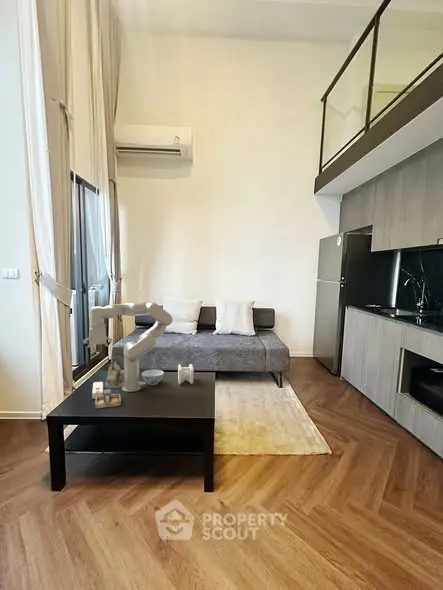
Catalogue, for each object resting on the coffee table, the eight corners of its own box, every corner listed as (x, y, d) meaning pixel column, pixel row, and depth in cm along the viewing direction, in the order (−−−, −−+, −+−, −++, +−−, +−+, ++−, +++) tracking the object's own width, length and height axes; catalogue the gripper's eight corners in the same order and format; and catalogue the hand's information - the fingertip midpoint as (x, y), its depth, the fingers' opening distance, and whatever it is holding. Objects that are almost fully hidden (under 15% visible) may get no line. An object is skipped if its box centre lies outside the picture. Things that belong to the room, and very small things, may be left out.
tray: (119, 397, 195) (119, 393, 195) (120, 405, 184) (120, 401, 184) (95, 400, 191) (95, 396, 190) (95, 408, 179) (95, 404, 179)
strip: (102, 386, 213) (102, 381, 213) (102, 397, 195) (102, 391, 194) (93, 387, 211) (93, 381, 211) (92, 398, 193) (92, 392, 192)
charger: (111, 404, 184) (110, 398, 192) (111, 394, 184) (110, 389, 192) (103, 405, 183) (103, 399, 191) (103, 395, 182) (103, 389, 190)
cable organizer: (177, 378, 234) (178, 363, 233) (192, 378, 236) (192, 363, 235) (178, 385, 219) (178, 369, 218) (193, 385, 221) (194, 369, 220)
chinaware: (145, 379, 230) (145, 369, 229) (165, 380, 229) (165, 370, 229) (139, 386, 215) (139, 375, 214) (160, 387, 214) (161, 376, 214)
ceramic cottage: (101, 386, 213) (102, 364, 212) (116, 380, 229) (118, 359, 228) (120, 391, 208) (122, 369, 207) (134, 384, 224) (136, 363, 223)
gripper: (111, 324, 205) (111, 350, 207) (82, 325, 198) (82, 352, 199) (112, 326, 199) (112, 353, 200) (82, 327, 191) (82, 355, 192)
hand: (97, 352), depth 199 cm, fingers open, 9 cm apart
